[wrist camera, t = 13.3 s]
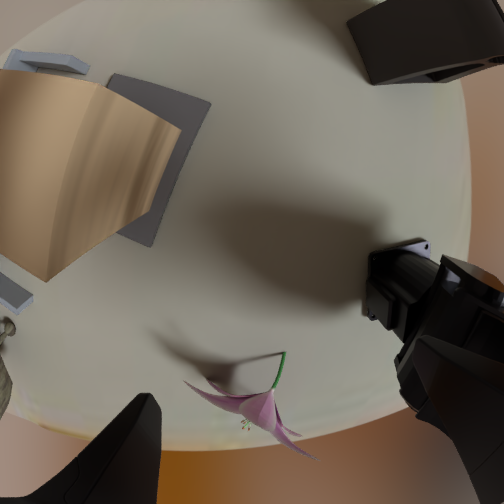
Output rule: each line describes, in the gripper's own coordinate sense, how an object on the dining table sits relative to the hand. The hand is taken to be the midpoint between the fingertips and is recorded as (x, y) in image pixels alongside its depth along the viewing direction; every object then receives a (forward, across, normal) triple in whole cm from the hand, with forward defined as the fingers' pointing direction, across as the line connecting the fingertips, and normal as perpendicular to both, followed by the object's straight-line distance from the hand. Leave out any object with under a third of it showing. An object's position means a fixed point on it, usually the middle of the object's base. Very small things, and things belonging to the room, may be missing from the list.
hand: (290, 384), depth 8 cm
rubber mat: (+13, +8, -9) cm, 17 cm away
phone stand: (+13, -15, -15) cm, 25 cm away
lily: (+13, +2, +12) cm, 18 cm away
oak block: (+12, +8, -9) cm, 17 cm away
